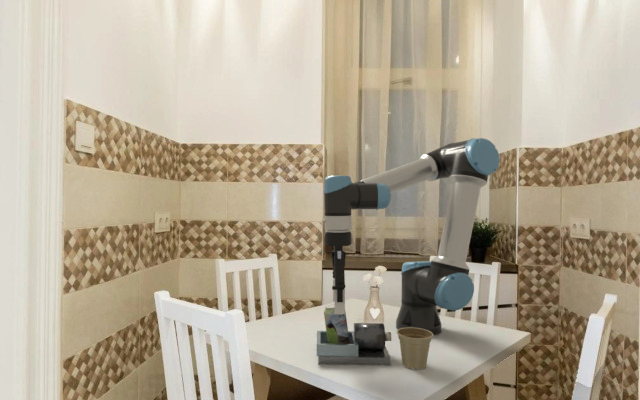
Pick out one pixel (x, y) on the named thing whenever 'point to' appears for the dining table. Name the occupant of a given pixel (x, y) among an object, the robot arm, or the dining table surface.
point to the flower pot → (414, 346)
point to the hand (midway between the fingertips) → (338, 307)
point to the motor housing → (356, 347)
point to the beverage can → (336, 326)
